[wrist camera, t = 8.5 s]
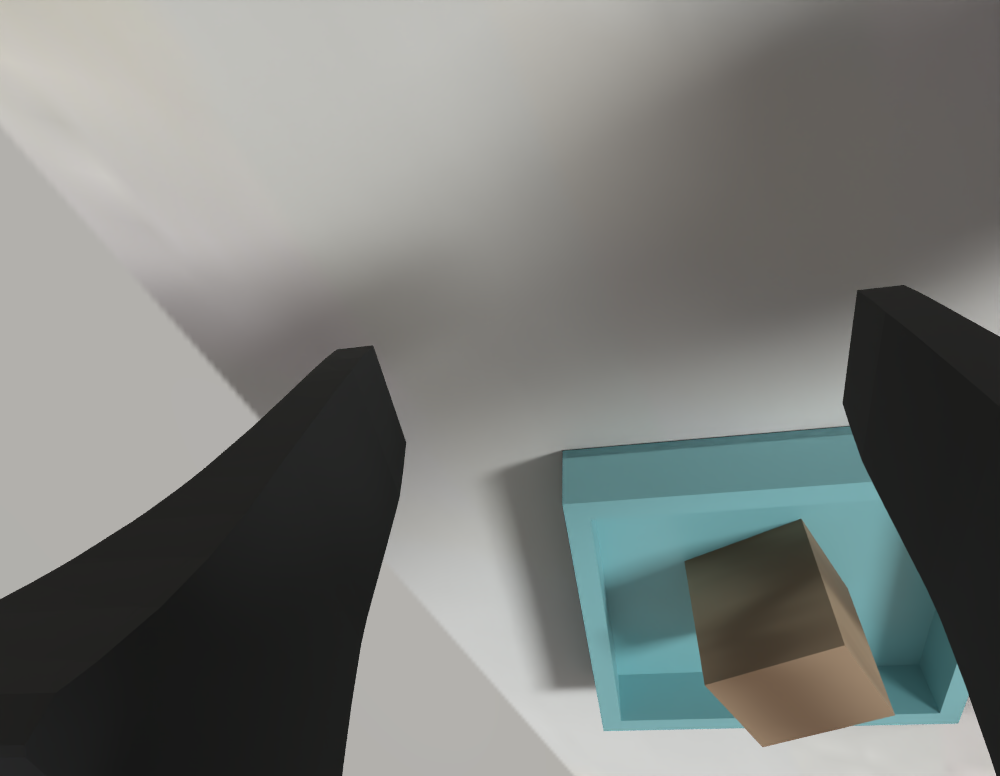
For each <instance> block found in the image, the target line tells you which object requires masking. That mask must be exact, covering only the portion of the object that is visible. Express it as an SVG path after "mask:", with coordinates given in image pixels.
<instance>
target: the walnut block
mask: <svg viewBox="0 0 1000 776" xmlns="http://www.w3.org/2000/svg"><path fill="white" fill-rule="evenodd" d="M684 562H685V569H686V575H687V581H688V587H689V593H690V599H691V605H692V611H693V617H694V624H695V630H696V636H697V642H698V648H699V654H700V660H701V666H702V672H703V679H704V685H705V686H706V687H707V688H708V689H709V691H710V692H711V693H712V694H713V695H714V696H715V697H716V698H717V699H718V700H719V701H720V702H721V703H722V704H723V705H724V706H725V708H726V709H727V710H728V711H729V712H730V713H731V714H732V715H733V716H734V717H735V718H736V719H737V720H738V721H739V722H740V723H741V725H742V726H743V727H744V728H745V729H746V730H747V731H748V732H749V733H750V734H751V735H752V736H753V737H754V738H755V739H756V741H757V742H758V743H759V744H760V745H761V746H762V747H765V746H770V745H774V744H778V743H782V742H786V741H790V740H795V739H799V738H803V737H807V736H811V735H815V734H820V733H824V732H828V731H832V730H836V729H840V728H845V727H849V726H853V725H857V724H861V723H865V722H870V721H874V720H878V719H882V718H886V717H890V716H895V714H894V711H893V708H892V706H891V703H890V700H889V698H888V695H887V692H886V690H885V687H884V684H883V682H882V679H881V676H880V674H879V671H878V668H877V665H876V663H875V660H874V657H873V655H872V652H871V649H870V647H869V644H868V641H867V639H866V636H865V633H864V631H863V628H862V625H861V623H860V620H859V617H858V615H857V612H856V609H855V607H854V604H853V601H852V599H851V596H850V593H849V591H848V588H847V587H846V585H845V584H844V582H843V581H842V579H841V578H840V576H839V574H838V573H837V571H836V570H835V568H834V567H833V565H832V564H831V562H830V561H829V559H828V558H827V556H826V555H825V553H824V552H823V550H822V549H821V547H820V546H819V544H818V543H817V541H816V540H815V538H814V537H813V535H812V534H811V532H810V531H809V529H808V528H807V526H806V525H805V523H804V522H803V520H802V519H799V520H796V521H794V522H791V523H788V524H785V525H783V526H780V527H777V528H774V529H772V530H769V531H766V532H763V533H761V534H758V535H755V536H752V537H750V538H747V539H744V540H741V541H739V542H736V543H733V544H730V545H728V546H725V547H722V548H719V549H717V550H714V551H711V552H708V553H706V554H703V555H700V556H697V557H695V558H692V559H689V560H686V561H684Z"/></svg>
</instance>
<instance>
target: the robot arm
mask: <svg viewBox="0 0 1000 776" xmlns="http://www.w3.org/2000/svg"><path fill="white" fill-rule="evenodd" d="M843 406H844V409H845V412H846V415H847V418H848V422H849V425H850V428H851V431H852V434H853V437H854V440H855V443H856V446H857V449H858V451H859V454H860V457H861V460H862V462H863V464H864V466H865V468H866V471H867V473H868V475H869V477H870V479H871V481H872V483H873V485H874V487H875V489H876V491H877V493H878V495H879V497H880V499H881V501H882V503H883V505H884V507H885V509H886V510H887V512H888V514H889V516H890V518H891V520H892V522H893V524H894V526H895V528H896V530H897V532H898V534H899V536H900V538H901V540H902V542H903V544H904V546H905V548H906V550H907V551H908V553H909V555H910V557H911V559H912V561H913V563H914V565H915V567H916V569H917V571H918V573H919V575H920V577H921V579H922V581H923V583H924V585H925V587H926V589H927V591H928V593H929V595H930V597H931V600H932V602H933V604H934V606H935V608H936V611H937V613H938V615H939V617H940V620H941V622H942V625H943V627H944V630H945V633H946V635H947V638H948V641H949V643H950V646H951V649H952V651H953V654H954V657H955V659H956V662H957V665H958V667H959V670H960V672H961V675H962V678H963V680H964V683H965V686H966V689H967V692H968V694H969V697H970V700H971V703H972V706H973V709H974V711H975V714H976V717H977V720H978V723H979V726H980V729H981V731H982V734H983V737H984V740H985V743H986V746H987V749H988V751H989V754H990V757H991V760H992V763H993V766H994V770H995V773H996V776H1000V337H999V336H998V335H996V334H994V333H992V332H990V331H989V330H987V329H985V328H983V327H981V326H979V325H978V324H976V323H974V322H972V321H970V320H969V319H967V318H965V317H963V316H962V315H960V314H958V313H956V312H954V311H953V310H951V309H949V308H947V307H945V306H944V305H942V304H940V303H938V302H936V301H934V300H933V299H931V298H929V297H927V296H925V295H923V294H921V293H919V292H917V291H915V290H913V289H911V288H909V287H907V286H904V285H901V286H892V287H883V288H874V289H866V290H857V297H856V305H855V312H854V320H853V328H852V335H851V343H850V351H849V358H848V366H847V374H846V381H845V389H844V397H843ZM405 448H406V441H405V438H404V435H403V432H402V429H401V426H400V423H399V420H398V417H397V414H396V411H395V408H394V406H393V403H392V400H391V397H390V394H389V391H388V388H387V385H386V382H385V379H384V376H383V373H382V370H381V367H380V364H379V362H378V359H377V356H376V353H375V350H374V347H373V346H365V347H356V348H347V349H338V350H336V351H334V352H333V353H332V354H331V355H329V356H328V357H327V358H326V359H325V360H324V361H322V362H321V363H320V364H319V365H318V366H317V367H316V368H315V369H314V370H313V371H311V372H310V373H309V374H308V375H307V376H306V377H305V378H304V379H303V380H302V381H301V382H300V383H299V384H298V385H297V386H296V387H295V388H294V389H292V390H291V391H290V392H289V393H288V394H287V395H286V396H285V397H284V398H283V399H282V400H281V401H280V402H279V403H278V404H277V405H275V406H274V407H273V408H272V409H271V410H270V411H269V412H268V413H267V414H266V415H265V416H264V417H263V418H262V419H261V420H260V421H258V422H257V423H256V424H255V425H254V426H253V427H252V428H251V429H250V430H249V431H247V432H246V433H245V434H244V435H243V436H242V437H240V438H239V439H238V440H237V441H236V442H235V443H233V444H232V445H231V446H230V447H229V448H228V449H227V450H225V451H224V452H223V453H222V454H221V455H219V456H218V457H217V458H216V459H215V460H214V461H213V462H211V463H210V464H209V465H208V466H207V467H206V468H204V469H203V470H202V471H201V472H199V473H198V474H197V475H196V476H194V477H193V478H192V479H191V480H189V481H188V482H187V483H185V484H184V485H183V486H182V487H180V488H179V489H178V490H176V491H175V492H173V493H172V494H171V495H170V496H168V497H167V498H165V499H164V500H162V501H161V502H160V503H158V504H157V505H156V506H154V507H153V508H151V509H150V510H149V511H147V512H146V513H144V514H143V515H141V516H140V517H138V518H137V519H136V520H134V521H133V522H131V523H129V524H128V525H127V526H125V527H123V528H121V529H120V530H118V531H117V532H115V533H114V534H112V535H110V536H109V537H107V538H106V539H104V540H102V541H101V542H99V543H98V544H96V545H95V546H93V547H91V548H90V549H88V550H87V551H85V552H84V553H82V554H80V555H79V556H77V557H76V558H74V559H72V560H71V561H69V562H67V563H65V564H64V565H62V566H60V567H59V568H57V569H55V570H53V571H51V572H50V573H48V574H46V575H44V576H43V577H41V578H39V579H37V580H35V581H34V582H32V583H30V584H28V585H27V586H24V587H22V588H21V589H19V590H17V591H15V592H13V593H11V594H9V595H7V596H6V597H4V598H2V599H0V776H342V772H343V763H344V756H345V748H346V741H347V734H348V726H349V719H350V711H351V704H352V698H353V691H354V685H355V679H356V673H357V667H358V660H359V654H360V648H361V642H362V638H363V633H364V629H365V625H366V620H367V616H368V612H369V609H370V605H371V601H372V598H373V594H374V590H375V586H376V583H377V579H378V576H379V572H380V568H381V565H382V561H383V557H384V554H385V550H386V547H387V543H388V539H389V535H390V532H391V528H392V524H393V520H394V517H395V513H396V509H397V505H398V501H399V497H400V490H401V483H402V475H403V467H404V457H405Z"/></svg>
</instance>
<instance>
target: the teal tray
mask: <svg viewBox="0 0 1000 776" xmlns="http://www.w3.org/2000/svg"><path fill="white" fill-rule="evenodd" d="M562 505H563V511H564V516H565V522H566V527H567V533H568V538H569V543H570V549H571V554H572V560H573V565H574V571H575V576H576V582H577V587H578V593H579V598H580V604H581V609H582V615H583V620H584V625H585V631H586V636H587V642H588V647H589V653H590V658H591V664H592V669H593V675H594V680H595V686H596V691H597V697H598V702H599V708H600V713H601V718H602V724H603V729H604V731H628V730H674V729H721V728H744V727H743V726H742V725H741V723H740V722H739V721H738V720H737V719H736V718H735V717H734V716H733V715H732V714H731V713H730V712H729V711H728V710H727V709H726V708H725V706H724V705H723V704H722V703H721V702H720V701H719V700H718V699H717V698H716V697H715V696H714V695H713V694H712V693H711V692H710V691H709V689H708V688H707V687H706V686H705V685H704V679H703V672H702V666H701V660H700V654H699V648H698V642H697V636H696V630H695V624H694V617H693V611H692V605H691V599H690V593H689V587H688V581H687V575H686V569H685V562H684V561H686V560H689V559H692V558H695V557H697V556H700V555H703V554H706V553H708V552H711V551H714V550H717V549H719V548H722V547H725V546H728V545H730V544H733V543H736V542H739V541H741V540H744V539H747V538H750V537H752V536H755V535H758V534H761V533H763V532H766V531H769V530H772V529H774V528H777V527H780V526H783V525H785V524H788V523H791V522H794V521H796V520H799V519H802V520H803V522H804V523H805V525H806V526H807V528H808V529H809V531H810V532H811V534H812V535H813V537H814V538H815V540H816V541H817V543H818V544H819V546H820V547H821V549H822V550H823V552H824V553H825V555H826V556H827V558H828V559H829V561H830V562H831V564H832V565H833V567H834V568H835V570H836V571H837V573H838V574H839V576H840V578H841V579H842V581H843V582H844V584H845V585H846V587H847V588H848V591H849V593H850V596H851V599H852V601H853V604H854V607H855V609H856V612H857V615H858V617H859V620H860V623H861V625H862V628H863V631H864V633H865V636H866V639H867V641H868V644H869V647H870V649H871V652H872V655H873V657H874V660H875V663H876V665H877V668H878V671H879V674H880V676H881V679H882V682H883V684H884V687H885V690H886V692H887V695H888V698H889V700H890V703H891V706H892V708H893V711H894V714H895V716H890V717H886V718H882V719H878V720H874V721H870V722H865V723H861V724H857V725H853V726H862V725H908V724H955V723H958V722H959V720H960V717H961V714H962V712H963V709H964V707H965V704H966V701H967V699H968V696H969V694H968V692H967V689H966V686H965V683H964V680H963V678H962V675H961V672H960V670H959V667H958V665H957V662H956V659H955V657H954V654H953V651H952V649H951V646H950V643H949V641H948V638H947V635H946V633H945V630H944V627H943V625H942V622H941V620H940V617H939V615H938V613H937V611H936V608H935V606H934V604H933V602H932V600H931V597H930V595H929V593H928V591H927V589H926V587H925V585H924V583H923V581H922V579H921V577H920V575H919V573H918V571H917V569H916V567H915V565H914V563H913V561H912V559H911V557H910V555H909V553H908V551H907V550H906V548H905V546H904V544H903V542H902V540H901V538H900V536H899V534H898V532H897V530H896V528H895V526H894V524H893V522H892V520H891V518H890V516H889V514H888V512H887V510H886V509H885V507H884V505H883V503H882V501H881V499H880V497H879V495H878V493H877V491H876V489H875V487H874V485H873V483H872V481H871V479H870V477H869V475H868V473H867V471H866V468H865V466H864V464H863V462H862V460H861V457H860V454H859V451H858V449H857V446H856V443H855V440H854V437H853V434H852V431H851V428H850V426H848V427H836V428H825V429H813V430H801V431H789V432H777V433H766V434H754V435H742V436H730V437H719V438H707V439H695V440H683V441H672V442H660V443H648V444H636V445H625V446H613V447H601V448H589V449H578V450H566V451H563V465H562Z"/></svg>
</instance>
